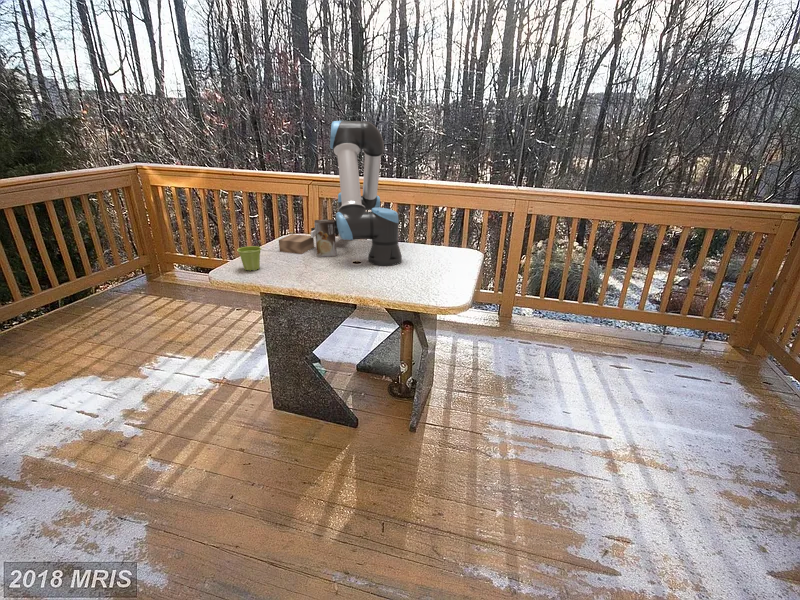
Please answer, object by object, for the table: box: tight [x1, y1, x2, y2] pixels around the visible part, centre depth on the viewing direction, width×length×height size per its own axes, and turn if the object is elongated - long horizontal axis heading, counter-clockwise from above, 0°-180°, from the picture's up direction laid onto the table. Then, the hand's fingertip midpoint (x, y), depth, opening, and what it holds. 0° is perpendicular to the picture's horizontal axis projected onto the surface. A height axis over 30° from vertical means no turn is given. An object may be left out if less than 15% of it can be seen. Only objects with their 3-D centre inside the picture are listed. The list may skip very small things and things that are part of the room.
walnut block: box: [278, 233, 315, 255], centre depth 192 cm, size 12×12×6 cm
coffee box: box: [313, 219, 337, 258], centre depth 183 cm, size 9×6×16 cm
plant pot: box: [236, 245, 262, 272], centre depth 164 cm, size 9×9×9 cm
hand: (325, 235), depth 183 cm, fingers open, 13 cm apart
